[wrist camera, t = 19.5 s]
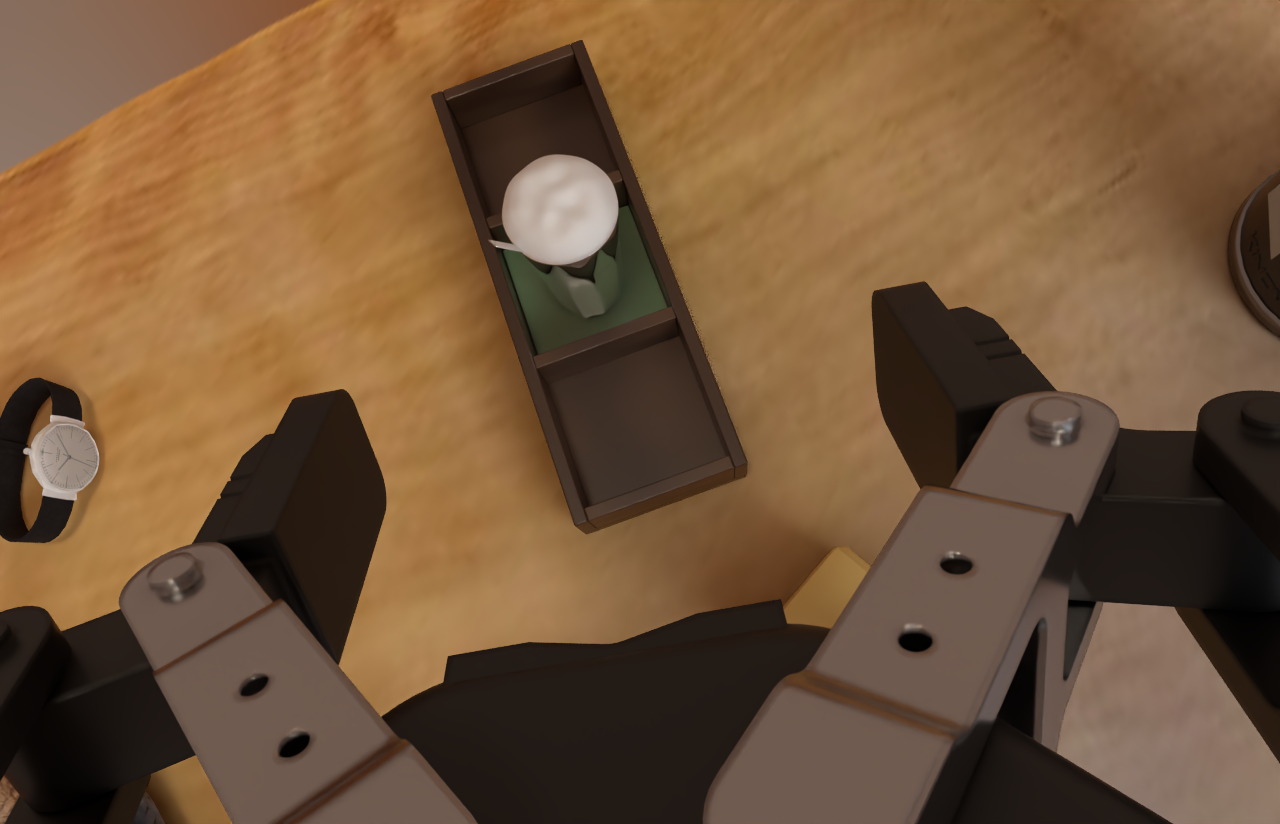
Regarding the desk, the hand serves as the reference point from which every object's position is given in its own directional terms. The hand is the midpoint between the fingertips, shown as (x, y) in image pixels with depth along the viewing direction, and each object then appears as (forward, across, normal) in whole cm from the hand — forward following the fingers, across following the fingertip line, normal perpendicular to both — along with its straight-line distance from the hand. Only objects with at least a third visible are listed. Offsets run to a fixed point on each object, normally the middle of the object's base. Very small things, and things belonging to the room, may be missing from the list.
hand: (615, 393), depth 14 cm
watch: (+27, +29, +14) cm, 42 cm away
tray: (+30, +3, +11) cm, 31 cm away
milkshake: (+29, +3, +10) cm, 31 cm away
